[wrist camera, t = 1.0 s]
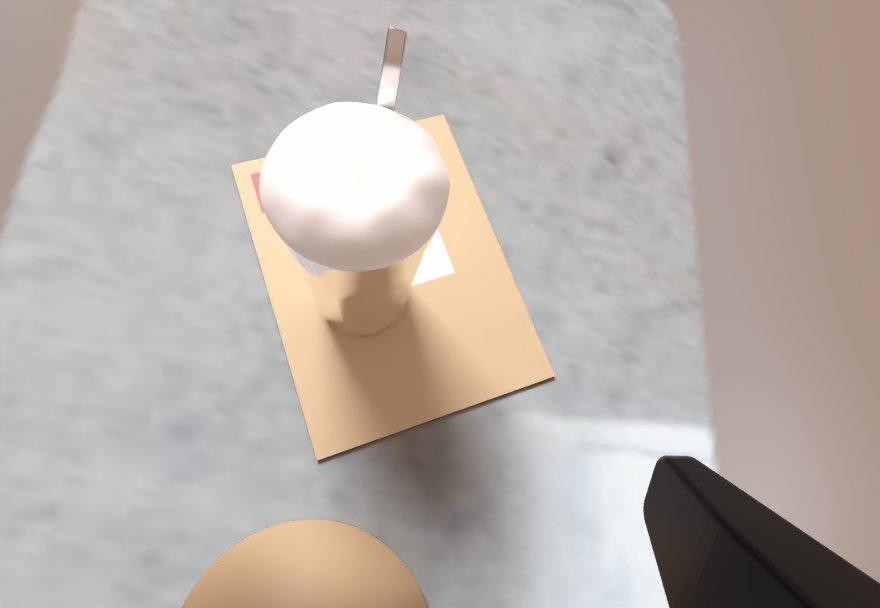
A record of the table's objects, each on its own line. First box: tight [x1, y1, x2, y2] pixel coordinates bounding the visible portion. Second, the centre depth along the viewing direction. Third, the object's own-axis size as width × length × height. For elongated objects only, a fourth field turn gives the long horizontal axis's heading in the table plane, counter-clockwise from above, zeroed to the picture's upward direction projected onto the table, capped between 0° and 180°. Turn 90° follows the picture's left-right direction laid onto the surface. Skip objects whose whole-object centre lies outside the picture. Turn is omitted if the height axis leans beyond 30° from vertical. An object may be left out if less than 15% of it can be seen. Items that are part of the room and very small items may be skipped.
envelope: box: [231, 114, 555, 461], centre depth 22 cm, size 12×9×1 cm
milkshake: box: [259, 27, 450, 335], centre depth 17 cm, size 4×5×10 cm
